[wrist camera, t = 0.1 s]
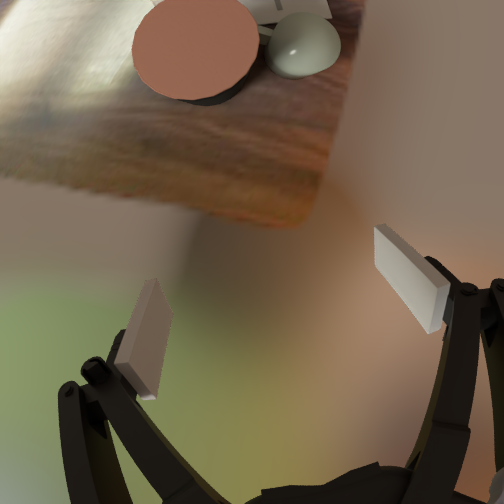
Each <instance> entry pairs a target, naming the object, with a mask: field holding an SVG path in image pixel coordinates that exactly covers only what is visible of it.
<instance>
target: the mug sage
mask: <svg viewBox="0 0 504 504" xmlns="http://www.w3.org/2000/svg"><path fill="white" fill-rule="evenodd" d="M257 27H258V32H259V37H260V42H259V44H263V45H265V48H264V58H265V61H266V64H267V65H268V67H269V68H270V69H271V71H273V72H274V73H275V74H276V75H278V76H280V77H282V78H285V79H290V80H298V79H303V78H305V77H308V76H310V75H312V74H315V73H317V72H319V71H322V70H324V69H326V68H328V67H330V66H331V65H332V64H334V63H335V61H336V60H337V58H338V57H339V54H340V50H341V42H340V38H339V35H338V33H337V31H336V29H335V28H334V27H333V26H332V24H330V23H329V22H328V21H327V20H326V19H324V18H323V17H321V16H319V15H316V14H313V13H309V12H296V13H292V14H289V15H287V16H285V17H284V18H282V19H281V20H280V21H279V22H278V24H277V25H276V27H275V29H274V30H273V29H269V28H266V27H262V26H259V25H257Z"/></svg>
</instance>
